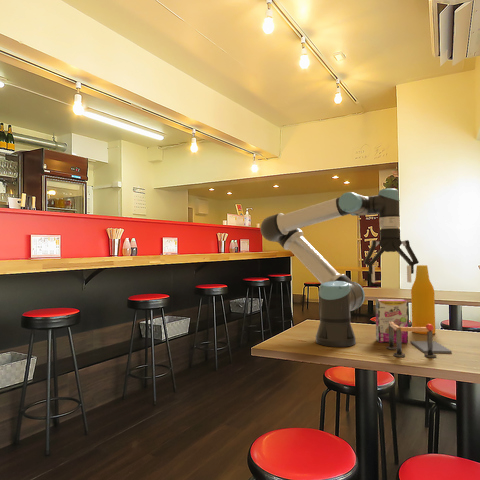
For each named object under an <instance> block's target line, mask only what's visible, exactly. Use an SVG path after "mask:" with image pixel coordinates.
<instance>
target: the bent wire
mask: <svg viewBox="0 0 480 480" xmlns="http://www.w3.org/2000/svg"><path fill="white" fill-rule="evenodd" d="M393 328H394V329H395V330H396V343H394V331H393ZM433 329H434V327H433V325H431V324H427V325H426V327H412V326H408V327H399V326H398V325H396V324H395V323H393V322H389V343H388V345H386V346H385V347H386V348H385V349H387V350H391V351H392V350H394V351H395V350H396V352H394V353H393V357H396V358H405V357H406V354H405V353H404V352H403V347H402V344H403V343H402V340H401V331H408V332H413V331H420V332H427V334H426V338H427V339H426V341H427V346H428V353H424V354H423V355H424V357H426V358H427V359H428V358H430V359H436V358H437V354H436V353H433V334H432V330H433ZM395 344H396V345H395Z"/></svg>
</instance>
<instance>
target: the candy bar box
mask: <svg viewBox="0 0 480 480" xmlns="http://www.w3.org/2000/svg"><path fill="white" fill-rule="evenodd" d="M408 303H409V302H408V300H406V299H395V298H394V299H393V298H392V299H389V298H388V299H387V298H375V340H376V342H378V343H382V344H383V343H385V344H389V322H393V323H395V324H396V325H398V326H399V327H409V324H408V323H409V320H408V318H409V315H408V314H409V313H408V309H409V306H408V305H409V304H408ZM393 331H394V344H396V330H395V329H394V328H393ZM401 340H402V344H409V331H401Z"/></svg>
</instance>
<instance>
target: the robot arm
mask: <svg viewBox="0 0 480 480" xmlns="http://www.w3.org/2000/svg"><path fill="white" fill-rule="evenodd" d="M400 202H401V201H400V194H399V190H398V189H396V188H382V189H380V190H379V191H378V194H377V195H368V196H367V195H366V196H364V195H361V194H359V193H356V192H352V191H348V192H344V193H342V195H340V196H339V197H335V198H332V199H329V200H325V201H323V202H319V203H316V204H313V205H309V206H306V207H304V208H300V209H297V210H294V211H291V212H290V211H289V212H287V213H282V212H278V213H277V214H272V215H270V216H267V217H265V218H264V219H263V221H261V224H260V227H259V228H260V233H261V235H262V238H264V239H265V240H267V241H268V242H272V243H274V242H275V243H277V244H279V245H280V246H281V247H282V248H283V250H285V251H286V250H287V251H290V252H291V253H292V254H293V255H294V256H295V257H296V258H297V259H298V260H299V261H300V263H301V264H302V265H303V266H304V267H305V268H306V269H307V270H308V271H309V272H310V273H311V274H312V275H313V277H315V278H316V279H317V280H318V282H319V283H320V285H319V289H318V290H319V291H318V297H319V324H318V328H317V331H316V334H315V342H316V344H318V345H320V346H325V347H331V348H332V347H333V348H335V347H336V348H337V347H338V348H344V347H351V346H355V345H356V344H357V342H356V339H357V338H356V335H355V331H354V330H353V327H352V323H351V312H352V311H355V310H358V309H359V308H360V307H361V306H362V305H363V304H364V302H365V299H366V298H365V297H366V294H365V293H366V292H365V290H364V288H363V286H362V285H360V283H358V282H356V281H352V280H351V279H350V278H349V277H348V276H347V275H346V273H339V272H338V270H336V269H335V268H334V266H332V265H331V264H330V263H329V261H328V260H327V259H325V258H324V256H323V255H322V254H321V253H320V252H319V251H318V250H317V249H316V248H315V247H314V246H313V245H312V244H311V243H310V242H309V241H308V240H307V238H305V237H304V231H303V230H302V229H301V228H305V227H309V226H312V225H315V224H319V223H323V222H326V221H327V222H328V221H329V220H333V219H336V218H341V217H344V216H347V215H351V216H353V217H354V216H355V217H357V216H369V215H378V217H379V218H378V219H379V220H378V221H379V228H380V229H379V241H378V240H377V241H376V240H372V241H371V244H370V245H371V246H370V247H369V250H368V252H367V255H366V257H365V258H364V260H363V264H364V265H367V266H368V274H369V275H370V276H371V283H374V284H375V283H376V275H375V274H376V273H375V272H376V268H375V267H376V266H375V265H374V264H375V263H376V261H377V260H378V259H380V257H381V256H382V255H383V253H390V252H391V253H395V252H396V253H398V254H399V256H401V258H403V260H404V261H405V262H406V263H407V265H406V280H407V283H412V274H414V272H415V269H414V265H419V263H420V262H419V260H418V258H417V256H416V254H415V253H414V251H413V249H412V247H411V246H410V241H409V240H408V239H406V240H402V239H401V229H400V227H401V222H400V221H401V219H400V216H401V215H400ZM378 245H379V246H380V248H379V250H378V251H377V253H375V255H374V256H373V257H372V255H373V253H374V251H375V249H376V247H378ZM401 246H403V247H404V248H405V250H406V251H407V253H408V255H407V254H406V253H405V252H404V251H403V249H402V248H401ZM409 257H410V258H409Z"/></svg>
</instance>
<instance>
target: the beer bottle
mask: <svg viewBox="0 0 480 480" xmlns="http://www.w3.org/2000/svg"><path fill="white" fill-rule="evenodd" d="M414 278H415V279H414V281H413V284H412V287H411V289H410V291H411V294H410V295H411V296H410V297H411V300H410V301H411V327H426V325H427V324H431V325H433V327H434V329H433V330H432V335H434V334H435V333H436V328H437V327H436V311H435V310H436V308H435V306H436V305H435V304H436V302H435V288H434V286H433V284H432V282H431V280H430V276H429V268H428V265H425V264H424V265H423V264H422V265H421V264H416V270H415V277H414ZM412 332H413V333H415V334H418V335H427V332H420V331H412Z"/></svg>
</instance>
